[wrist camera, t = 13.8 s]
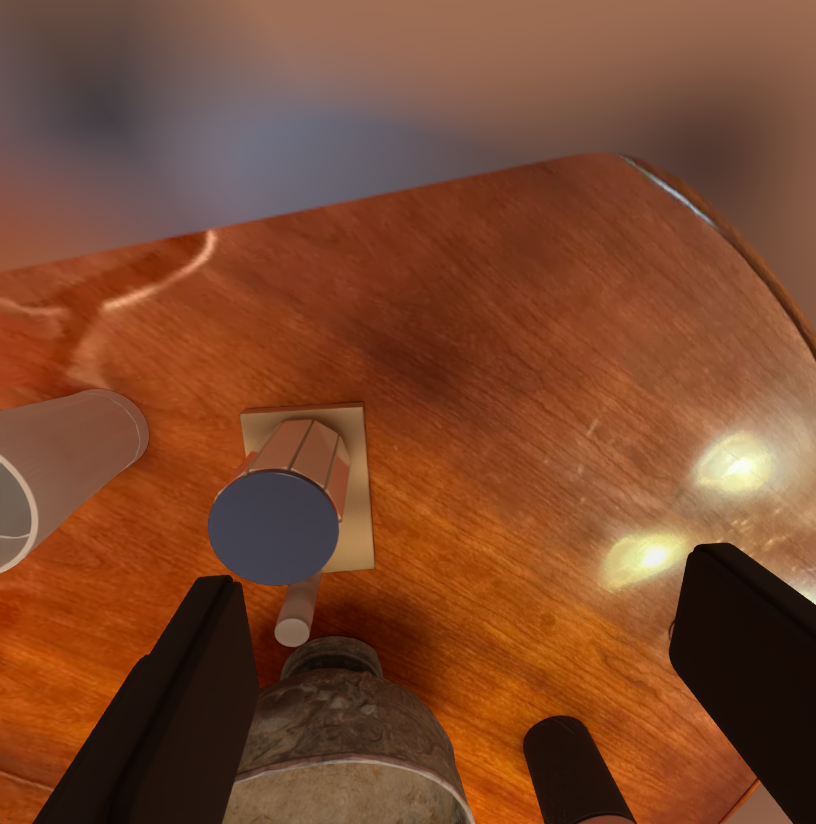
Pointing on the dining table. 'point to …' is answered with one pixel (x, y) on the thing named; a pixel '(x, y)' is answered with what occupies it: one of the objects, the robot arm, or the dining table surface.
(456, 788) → the bowl
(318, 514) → the blue topped tan cylinder
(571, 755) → the travel mug
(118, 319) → the dining table surface
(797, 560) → the dining table surface
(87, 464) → the cup
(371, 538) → the double peg stand
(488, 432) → the dining table surface
